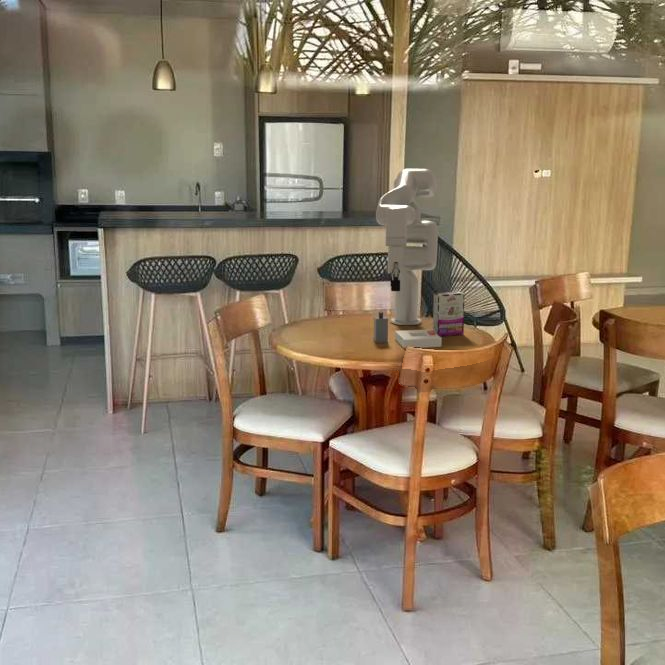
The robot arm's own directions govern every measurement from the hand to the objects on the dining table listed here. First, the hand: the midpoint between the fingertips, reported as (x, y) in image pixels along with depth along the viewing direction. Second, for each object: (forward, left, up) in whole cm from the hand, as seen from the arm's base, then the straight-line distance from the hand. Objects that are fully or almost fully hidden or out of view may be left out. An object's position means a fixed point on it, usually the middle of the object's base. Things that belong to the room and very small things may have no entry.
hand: (395, 288), depth 279 cm
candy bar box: (-10, +24, -21) cm, 33 cm away
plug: (-4, -4, -21) cm, 21 cm away
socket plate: (+1, +9, -21) cm, 22 cm away
